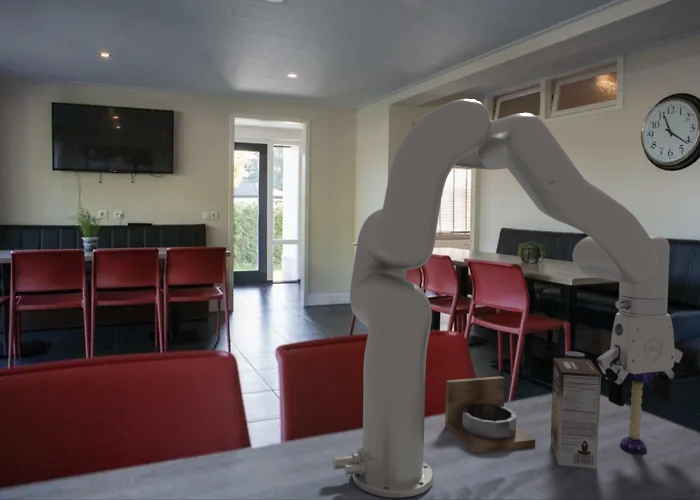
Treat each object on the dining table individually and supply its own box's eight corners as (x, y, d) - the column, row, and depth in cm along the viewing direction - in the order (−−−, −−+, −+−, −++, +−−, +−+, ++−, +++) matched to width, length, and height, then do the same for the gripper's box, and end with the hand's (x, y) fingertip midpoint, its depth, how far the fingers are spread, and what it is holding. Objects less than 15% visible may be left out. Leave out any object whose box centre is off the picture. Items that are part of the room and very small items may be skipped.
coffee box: (548, 443, 100) (552, 356, 99) (586, 446, 99) (590, 358, 97) (557, 466, 91) (561, 371, 90) (598, 470, 90) (603, 373, 88)
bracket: (474, 453, 95) (476, 401, 95) (445, 426, 107) (446, 380, 106) (535, 446, 98) (537, 396, 98) (500, 421, 110) (501, 376, 109)
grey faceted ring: (477, 442, 97) (478, 424, 96) (453, 422, 106) (454, 405, 106) (525, 437, 99) (526, 419, 99) (498, 418, 108) (498, 401, 108)
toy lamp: (622, 440, 101) (627, 351, 100) (651, 446, 99) (656, 355, 98) (617, 449, 98) (622, 357, 96) (647, 456, 95) (652, 361, 94)
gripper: (617, 312, 90) (613, 413, 92) (700, 307, 95) (696, 403, 96) (586, 305, 98) (583, 398, 99) (665, 300, 102) (661, 389, 104)
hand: (639, 401), depth 98 cm, fingers open, 9 cm apart
